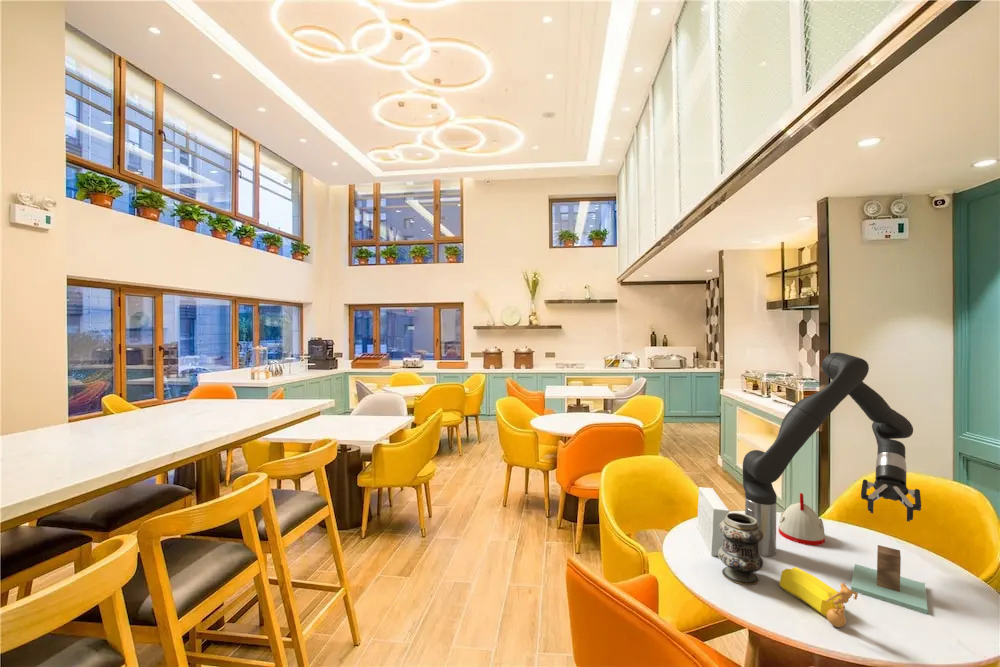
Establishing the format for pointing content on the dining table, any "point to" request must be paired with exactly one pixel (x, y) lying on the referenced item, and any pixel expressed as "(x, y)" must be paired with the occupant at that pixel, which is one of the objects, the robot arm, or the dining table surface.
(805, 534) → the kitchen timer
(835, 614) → the figurine
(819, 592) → the yellow faceted bar
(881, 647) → the dining table surface
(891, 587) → the walnut block
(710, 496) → the skincare box
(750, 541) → the apothecary jar
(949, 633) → the dining table surface
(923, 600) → the teal board
